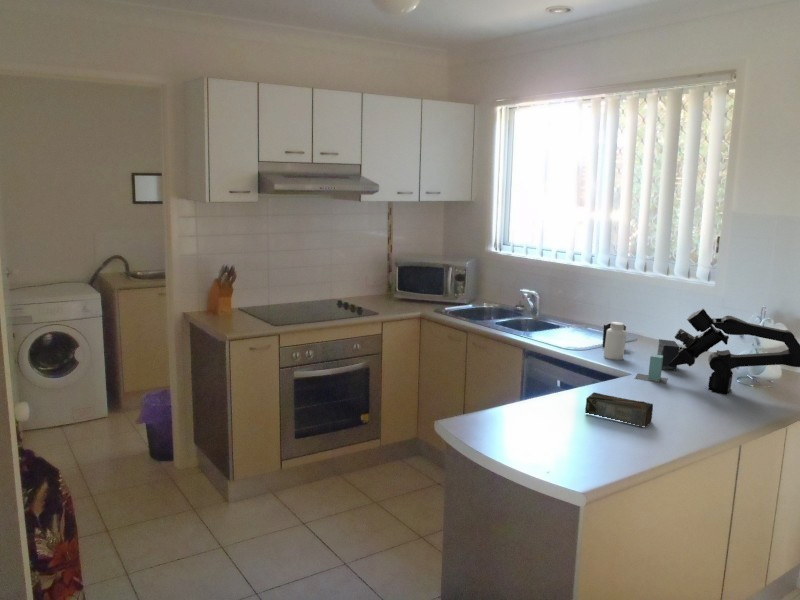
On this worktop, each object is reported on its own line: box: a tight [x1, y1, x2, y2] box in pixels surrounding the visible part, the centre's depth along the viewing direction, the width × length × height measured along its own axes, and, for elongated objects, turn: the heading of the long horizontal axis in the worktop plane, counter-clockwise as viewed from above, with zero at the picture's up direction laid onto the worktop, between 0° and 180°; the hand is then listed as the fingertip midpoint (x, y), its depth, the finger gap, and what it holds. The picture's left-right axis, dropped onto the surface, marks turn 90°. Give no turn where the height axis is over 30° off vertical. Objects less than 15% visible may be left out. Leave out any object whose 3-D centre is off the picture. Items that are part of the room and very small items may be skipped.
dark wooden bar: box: [584, 392, 654, 428], centre depth 208 cm, size 8×19×7 cm, turn 58°
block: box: [647, 353, 663, 381], centre depth 249 cm, size 4×4×9 cm
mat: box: [634, 373, 669, 385], centre depth 250 cm, size 11×8×1 cm
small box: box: [656, 338, 680, 372], centre depth 266 cm, size 11×6×10 cm, turn 168°
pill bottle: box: [603, 321, 627, 361], centre depth 277 cm, size 8×8×15 cm
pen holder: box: [602, 322, 627, 348], centre depth 295 cm, size 9×9×10 cm
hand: (669, 365), depth 246 cm, fingers closed
